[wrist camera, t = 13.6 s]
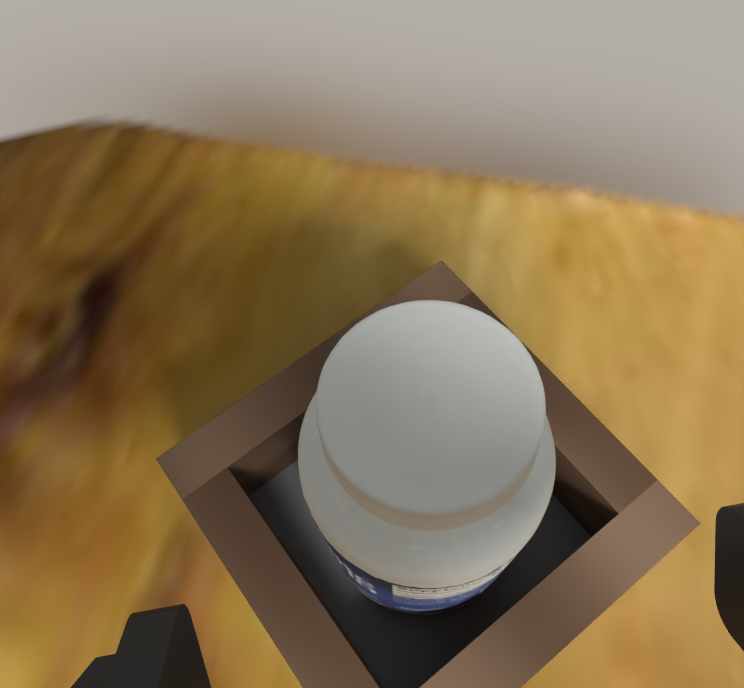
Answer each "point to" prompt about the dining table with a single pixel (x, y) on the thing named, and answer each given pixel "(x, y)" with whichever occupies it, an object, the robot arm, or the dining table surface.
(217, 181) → the dining table surface
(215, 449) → the square tray
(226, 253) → the dining table surface
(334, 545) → the pill bottle
